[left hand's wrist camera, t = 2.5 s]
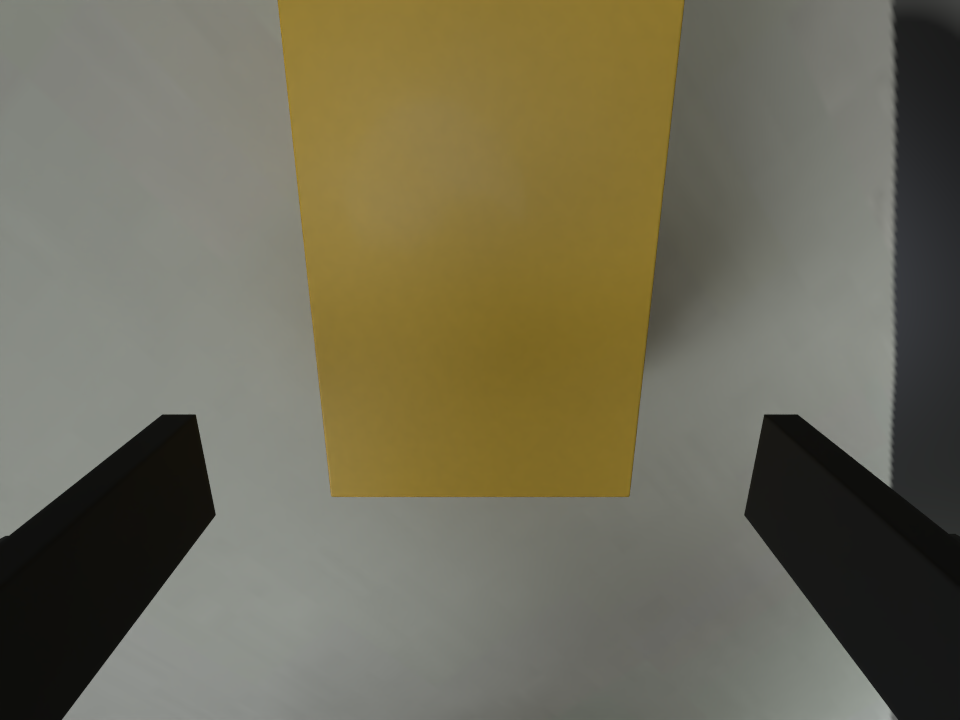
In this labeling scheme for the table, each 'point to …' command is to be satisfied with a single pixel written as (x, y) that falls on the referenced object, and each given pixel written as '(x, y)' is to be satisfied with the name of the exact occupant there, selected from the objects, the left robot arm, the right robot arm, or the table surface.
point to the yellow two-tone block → (480, 235)
